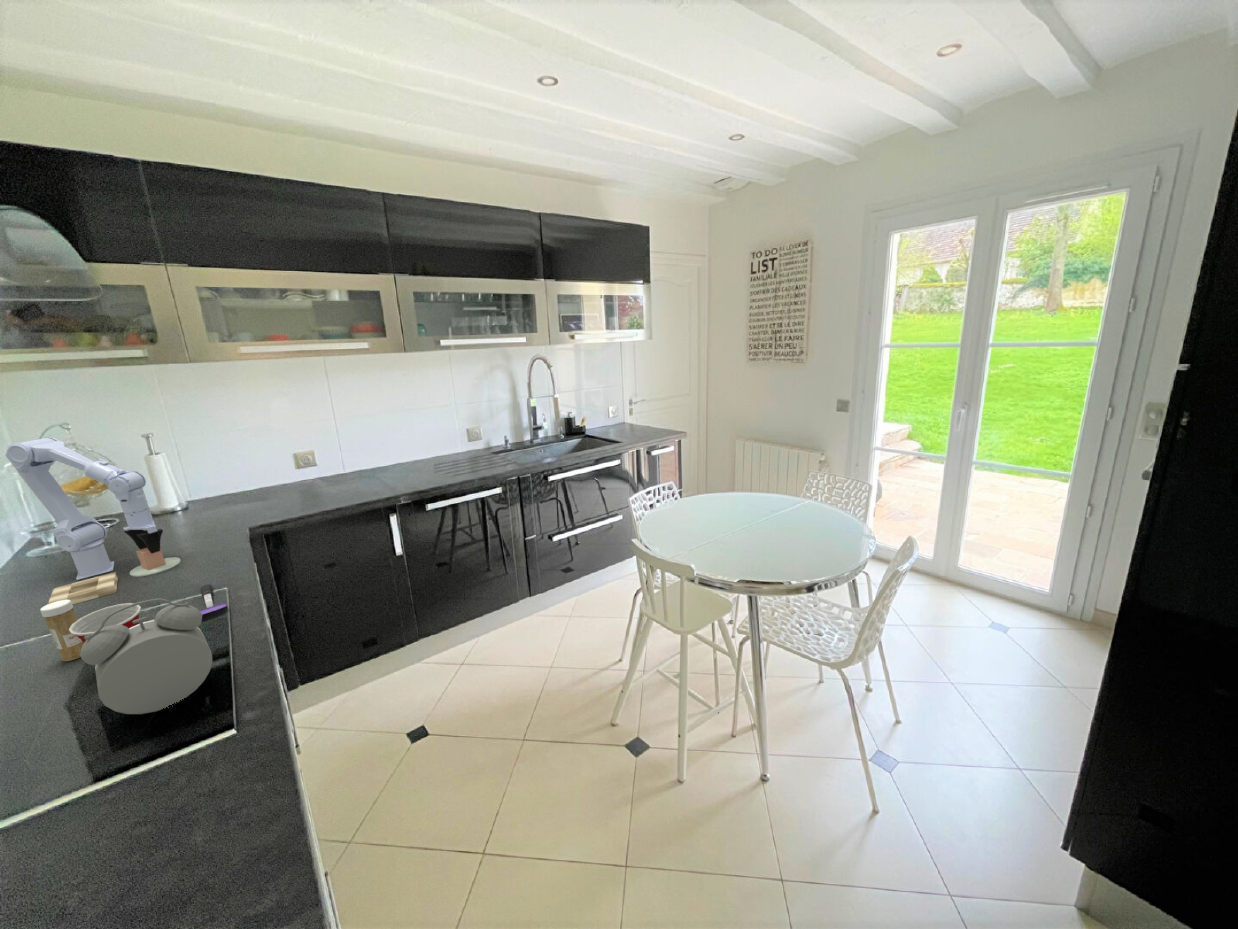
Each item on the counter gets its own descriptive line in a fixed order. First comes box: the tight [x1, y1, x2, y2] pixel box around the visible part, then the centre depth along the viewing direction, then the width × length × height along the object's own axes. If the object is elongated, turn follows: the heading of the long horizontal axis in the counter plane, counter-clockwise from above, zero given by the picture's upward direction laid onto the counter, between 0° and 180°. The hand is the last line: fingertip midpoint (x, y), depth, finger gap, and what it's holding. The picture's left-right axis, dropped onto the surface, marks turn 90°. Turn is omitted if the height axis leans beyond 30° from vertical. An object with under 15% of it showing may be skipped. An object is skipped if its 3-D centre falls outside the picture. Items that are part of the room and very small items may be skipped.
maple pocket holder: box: [47, 571, 119, 606], centre depth 138 cm, size 13×13×2 cm
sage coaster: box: [129, 556, 181, 578], centre depth 153 cm, size 12×12×1 cm
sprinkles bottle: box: [39, 600, 84, 662], centre depth 107 cm, size 5×5×14 cm
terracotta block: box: [135, 547, 166, 570], centre depth 151 cm, size 4×4×6 cm
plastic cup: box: [69, 602, 142, 643], centre depth 103 cm, size 11×11×12 cm
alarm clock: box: [80, 597, 213, 715], centre depth 89 cm, size 16×9×22 cm, turn 139°
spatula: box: [199, 583, 228, 616], centre depth 129 cm, size 24×7×2 cm, turn 43°
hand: (150, 550), depth 151 cm, fingers open, 7 cm apart
